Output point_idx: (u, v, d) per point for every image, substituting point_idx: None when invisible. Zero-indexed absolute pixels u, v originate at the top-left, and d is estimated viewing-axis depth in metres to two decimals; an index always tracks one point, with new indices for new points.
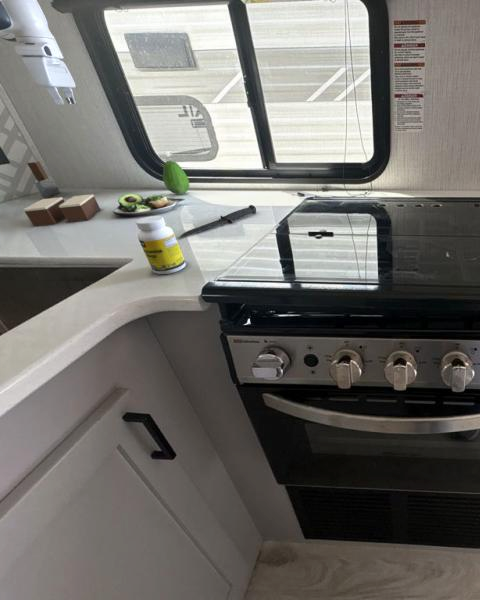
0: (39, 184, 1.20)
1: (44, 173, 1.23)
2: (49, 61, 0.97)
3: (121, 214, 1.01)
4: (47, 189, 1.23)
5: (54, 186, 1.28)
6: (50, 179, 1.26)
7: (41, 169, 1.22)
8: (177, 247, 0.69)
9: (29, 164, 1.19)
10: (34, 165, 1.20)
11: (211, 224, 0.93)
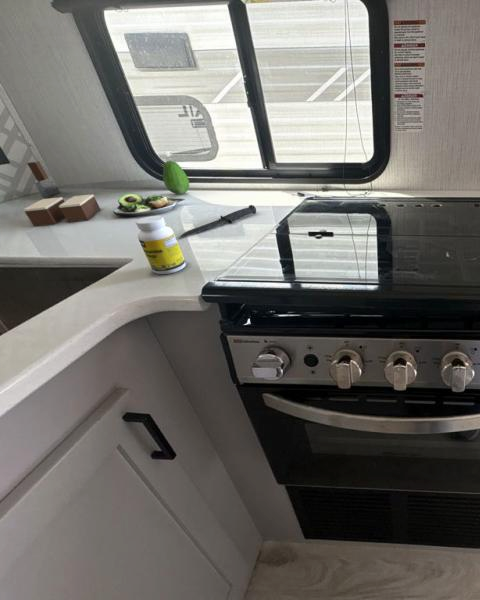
0: (39, 184, 1.20)
1: (44, 173, 1.23)
2: None
3: (121, 214, 1.01)
4: (47, 189, 1.23)
5: (54, 186, 1.28)
6: (50, 179, 1.26)
7: (41, 169, 1.22)
8: (177, 247, 0.69)
9: (29, 164, 1.19)
10: (34, 165, 1.20)
11: (211, 224, 0.93)
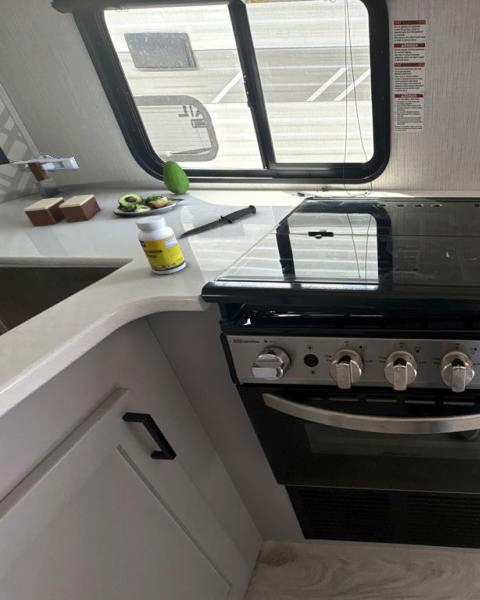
0: (39, 184, 1.20)
1: (44, 173, 1.23)
2: None
3: (121, 214, 1.01)
4: (47, 189, 1.23)
5: (54, 186, 1.28)
6: (50, 179, 1.26)
7: None
8: (177, 247, 0.69)
9: (29, 164, 1.19)
10: (34, 165, 1.20)
11: (211, 224, 0.93)
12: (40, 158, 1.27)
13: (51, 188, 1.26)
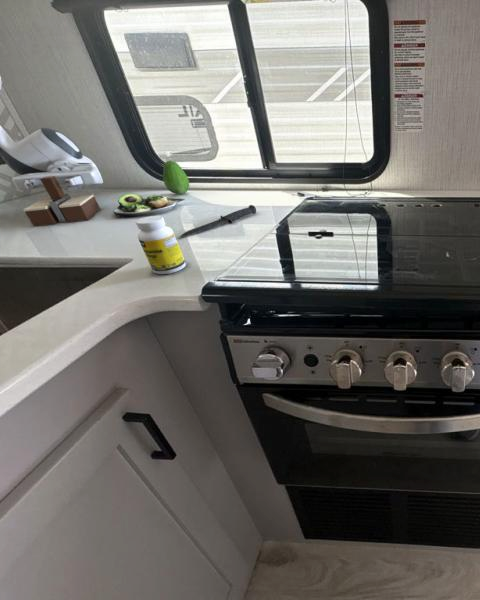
0: (55, 205, 0.97)
1: (60, 190, 1.00)
2: None
3: (121, 214, 1.01)
4: None
5: None
6: (67, 197, 1.03)
7: (57, 186, 0.98)
8: (177, 247, 0.69)
9: (43, 180, 0.96)
10: (49, 181, 0.96)
11: (211, 224, 0.93)
12: (54, 171, 1.04)
13: None
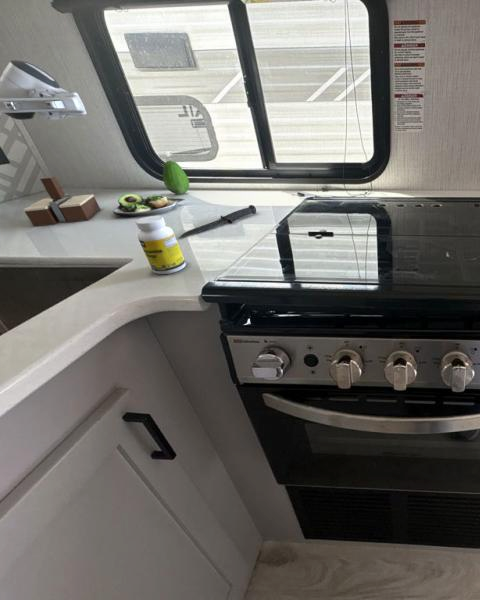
0: (55, 205, 0.97)
1: (61, 190, 1.00)
2: (72, 112, 1.08)
3: (121, 214, 1.01)
4: None
5: None
6: (67, 197, 1.03)
7: (57, 186, 0.98)
8: (177, 247, 0.69)
9: (43, 180, 0.96)
10: (49, 181, 0.96)
11: (211, 224, 0.93)
12: (36, 97, 1.03)
13: None
